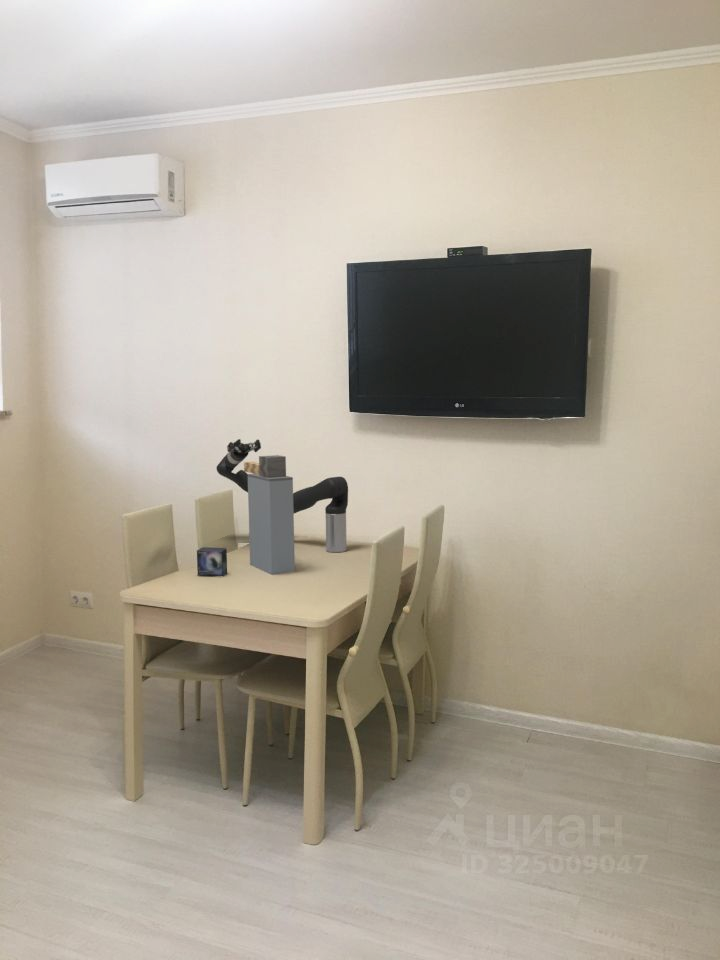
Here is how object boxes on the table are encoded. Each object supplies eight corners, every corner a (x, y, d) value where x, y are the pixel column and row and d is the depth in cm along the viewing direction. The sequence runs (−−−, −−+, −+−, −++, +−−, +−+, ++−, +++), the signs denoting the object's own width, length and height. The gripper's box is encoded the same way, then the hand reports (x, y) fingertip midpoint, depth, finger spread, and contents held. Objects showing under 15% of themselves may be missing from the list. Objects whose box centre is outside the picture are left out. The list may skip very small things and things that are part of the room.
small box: (196, 576, 320) (195, 550, 319) (202, 572, 327) (201, 546, 325) (222, 577, 318) (221, 550, 317) (228, 573, 325) (227, 547, 323)
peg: (239, 471, 345) (239, 452, 344) (257, 470, 349) (256, 451, 349) (267, 477, 321) (267, 457, 320) (286, 476, 325) (285, 456, 324)
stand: (250, 564, 340) (247, 474, 335) (272, 561, 345) (269, 472, 340) (271, 574, 321) (269, 479, 317) (294, 571, 326) (292, 477, 322)
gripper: (253, 461, 372) (265, 449, 358) (223, 461, 365) (234, 449, 351) (251, 446, 374) (263, 433, 360) (221, 445, 367) (232, 433, 353)
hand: (249, 441), depth 356 cm, fingers open, 8 cm apart
